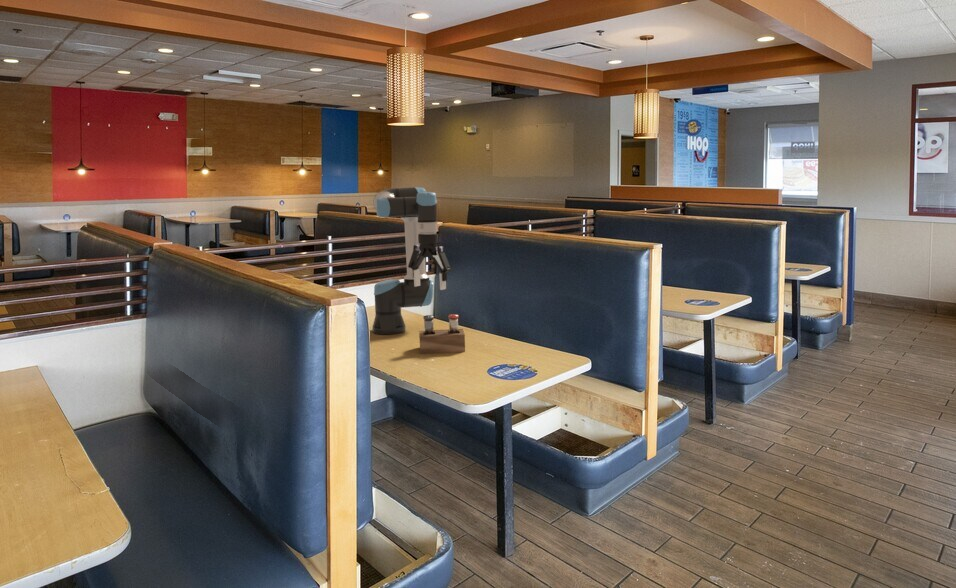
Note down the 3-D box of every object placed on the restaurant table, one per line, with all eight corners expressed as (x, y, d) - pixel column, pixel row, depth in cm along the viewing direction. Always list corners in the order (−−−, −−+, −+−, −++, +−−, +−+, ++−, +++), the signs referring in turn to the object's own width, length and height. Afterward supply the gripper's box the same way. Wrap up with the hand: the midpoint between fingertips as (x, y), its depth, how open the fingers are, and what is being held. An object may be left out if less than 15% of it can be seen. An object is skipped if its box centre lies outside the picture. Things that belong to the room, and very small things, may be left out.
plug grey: (424, 333, 266) (423, 315, 265) (434, 332, 266) (433, 315, 265) (424, 335, 262) (423, 317, 260) (434, 335, 262) (433, 317, 261)
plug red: (448, 332, 267) (447, 314, 265) (458, 331, 267) (458, 313, 266) (449, 334, 263) (448, 316, 261) (459, 334, 263) (458, 316, 262)
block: (420, 347, 270) (419, 330, 269) (463, 345, 271) (462, 328, 270) (420, 353, 260) (419, 336, 259) (465, 351, 262) (464, 334, 260)
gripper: (397, 232, 254) (400, 286, 258) (445, 235, 238) (447, 292, 243) (411, 230, 260) (413, 283, 264) (459, 233, 244) (460, 289, 248)
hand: (429, 287), depth 253 cm, fingers open, 13 cm apart
